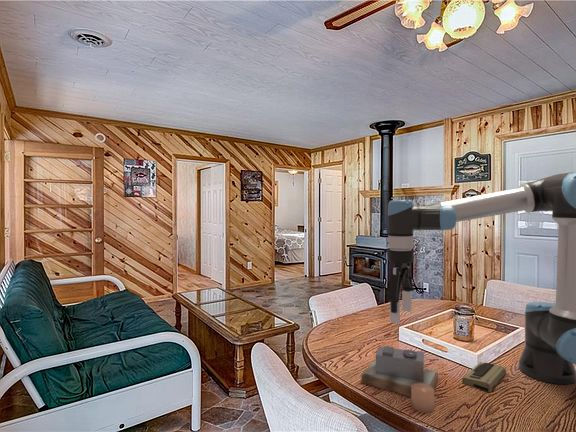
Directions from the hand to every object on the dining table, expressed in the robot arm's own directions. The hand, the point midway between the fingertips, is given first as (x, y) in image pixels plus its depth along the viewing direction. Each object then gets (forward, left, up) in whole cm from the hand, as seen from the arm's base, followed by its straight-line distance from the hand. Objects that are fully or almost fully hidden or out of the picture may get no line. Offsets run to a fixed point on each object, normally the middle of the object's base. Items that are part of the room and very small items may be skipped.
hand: (401, 316), depth 109 cm
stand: (0, 0, -21) cm, 21 cm away
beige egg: (-9, +10, -21) cm, 25 cm away
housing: (0, +1, -18) cm, 18 cm away
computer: (-22, -16, -21) cm, 34 cm away
